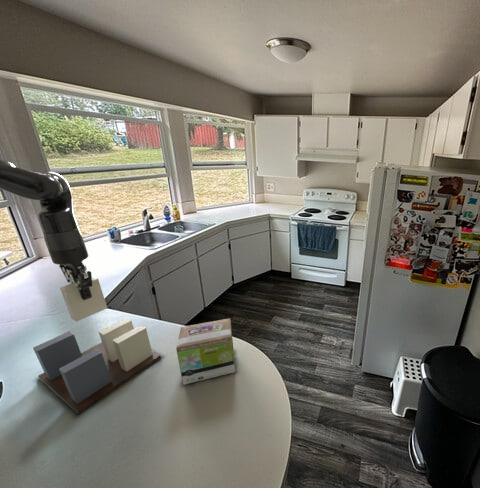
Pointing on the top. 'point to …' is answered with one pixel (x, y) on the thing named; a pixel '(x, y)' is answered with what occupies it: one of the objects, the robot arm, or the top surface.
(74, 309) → the cream book
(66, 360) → the grey book
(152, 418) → the top surface
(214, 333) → the tea box
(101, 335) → the cream book
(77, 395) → the grey book
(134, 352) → the cream book
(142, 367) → the shelf board
